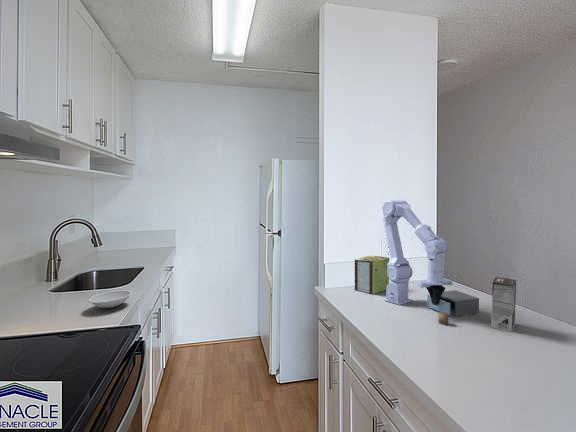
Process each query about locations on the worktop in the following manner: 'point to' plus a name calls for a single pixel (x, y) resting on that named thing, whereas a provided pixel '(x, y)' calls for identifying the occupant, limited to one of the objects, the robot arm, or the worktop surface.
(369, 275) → the protein box
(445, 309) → the tray
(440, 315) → the post
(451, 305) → the puck
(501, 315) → the coffee box
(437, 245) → the robot arm
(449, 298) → the box
